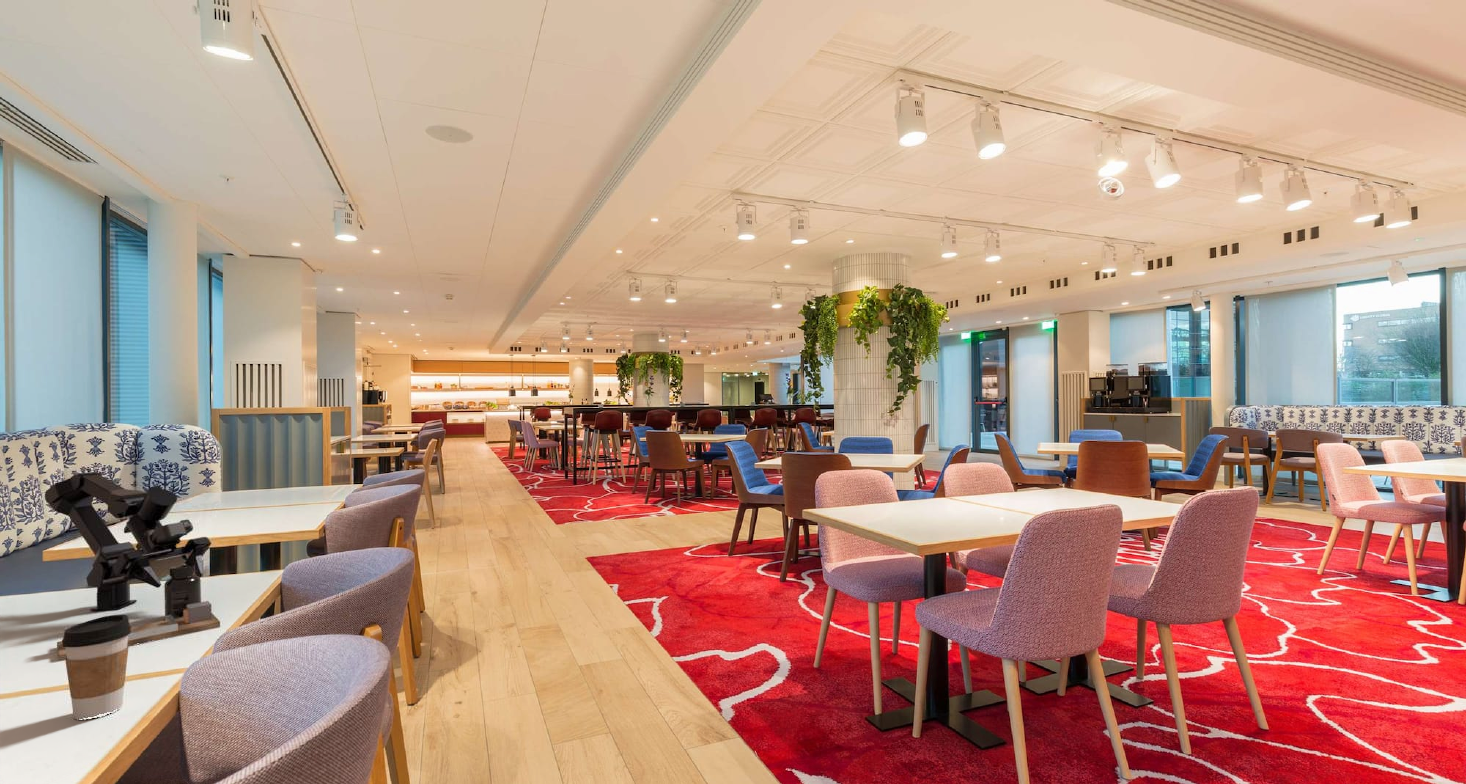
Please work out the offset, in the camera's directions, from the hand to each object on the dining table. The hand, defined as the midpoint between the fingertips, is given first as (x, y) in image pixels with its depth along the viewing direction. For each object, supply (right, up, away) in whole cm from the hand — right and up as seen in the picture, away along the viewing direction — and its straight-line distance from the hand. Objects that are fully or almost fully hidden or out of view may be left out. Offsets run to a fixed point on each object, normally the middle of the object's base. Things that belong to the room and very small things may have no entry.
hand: (181, 581), depth 162 cm
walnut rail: (+3, -8, -14) cm, 17 cm away
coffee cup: (+28, -8, -51) cm, 58 cm away
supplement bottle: (+1, -9, 0) cm, 9 cm away
